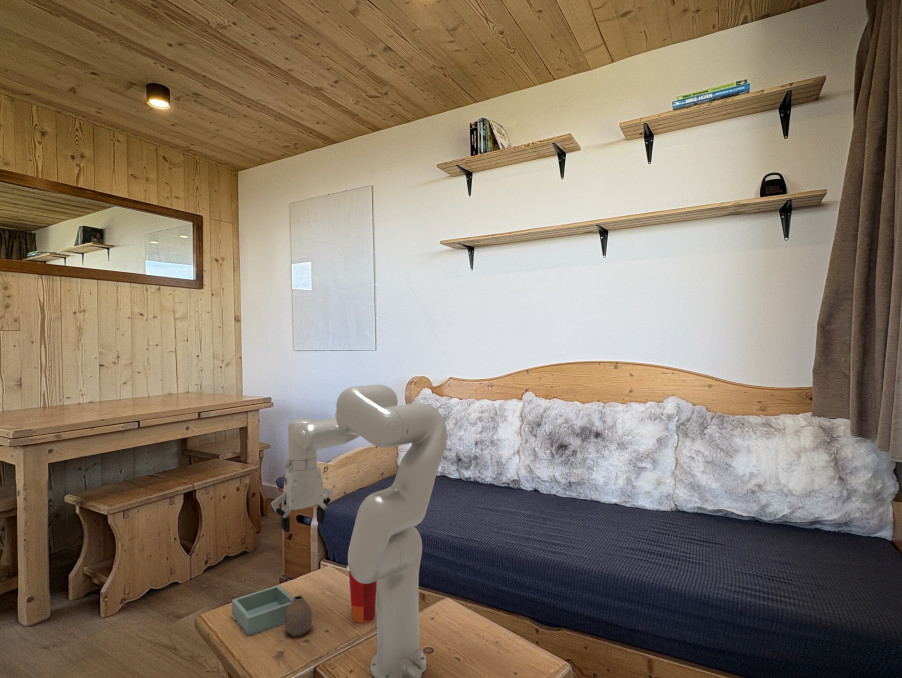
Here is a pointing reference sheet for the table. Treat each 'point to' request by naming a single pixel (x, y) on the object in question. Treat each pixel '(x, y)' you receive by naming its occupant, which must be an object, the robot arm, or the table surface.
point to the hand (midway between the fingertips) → (303, 526)
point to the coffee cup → (362, 600)
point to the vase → (298, 616)
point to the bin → (261, 609)
